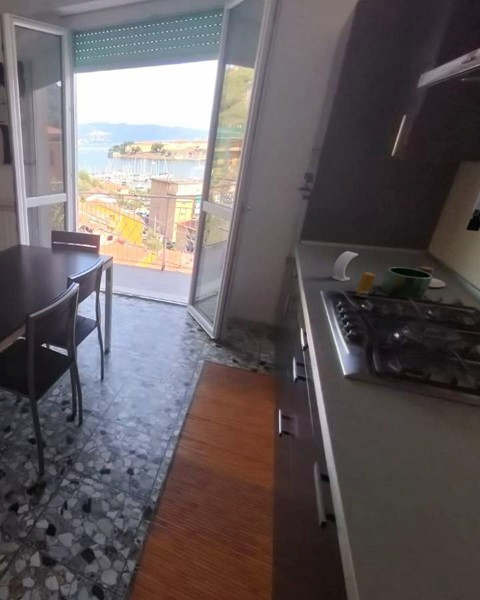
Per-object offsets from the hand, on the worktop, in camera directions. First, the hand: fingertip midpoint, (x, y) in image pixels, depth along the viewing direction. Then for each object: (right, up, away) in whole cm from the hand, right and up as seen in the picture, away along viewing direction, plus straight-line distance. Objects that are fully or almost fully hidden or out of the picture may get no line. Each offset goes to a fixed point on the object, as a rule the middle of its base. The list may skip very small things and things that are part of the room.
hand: (477, 229), depth 133 cm
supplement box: (-37, -26, +8) cm, 46 cm away
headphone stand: (-32, -17, +27) cm, 45 cm away
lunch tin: (-17, -23, +13) cm, 31 cm away
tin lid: (0, -19, +22) cm, 29 cm away
